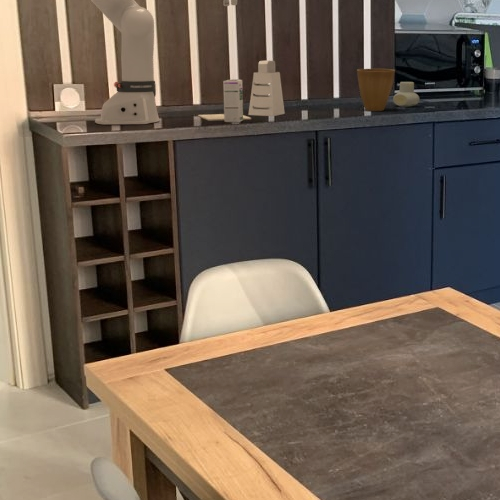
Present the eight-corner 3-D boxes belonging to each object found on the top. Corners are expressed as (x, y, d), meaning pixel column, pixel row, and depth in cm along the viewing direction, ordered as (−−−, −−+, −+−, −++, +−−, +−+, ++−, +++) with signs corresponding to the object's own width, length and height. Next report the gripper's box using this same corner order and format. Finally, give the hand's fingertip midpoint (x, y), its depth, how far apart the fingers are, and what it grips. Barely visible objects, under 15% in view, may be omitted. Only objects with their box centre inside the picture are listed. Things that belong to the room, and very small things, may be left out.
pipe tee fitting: (422, 106, 349) (423, 82, 346) (410, 107, 344) (411, 83, 341) (401, 105, 357) (402, 81, 354) (389, 106, 351) (390, 82, 349)
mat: (208, 120, 297) (208, 119, 297) (198, 116, 312) (198, 114, 312) (251, 119, 301) (251, 117, 301) (239, 114, 316) (239, 113, 316)
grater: (248, 114, 317) (248, 61, 312) (260, 112, 326) (260, 60, 321) (273, 116, 312) (273, 61, 307) (284, 113, 321) (285, 60, 316)
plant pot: (349, 109, 338) (350, 69, 334) (382, 108, 343) (384, 68, 339) (365, 112, 325) (367, 70, 320) (399, 111, 329) (401, 70, 325)
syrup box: (240, 122, 291) (239, 80, 287) (223, 122, 292) (223, 80, 289) (243, 120, 297) (243, 79, 293) (227, 120, 298) (226, 79, 294)
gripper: (212, -35, 290) (213, 6, 294) (228, -40, 271) (229, 4, 275) (230, -35, 292) (230, 6, 295) (247, -40, 273) (247, 4, 277)
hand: (230, 5), depth 285 cm, fingers open, 8 cm apart
